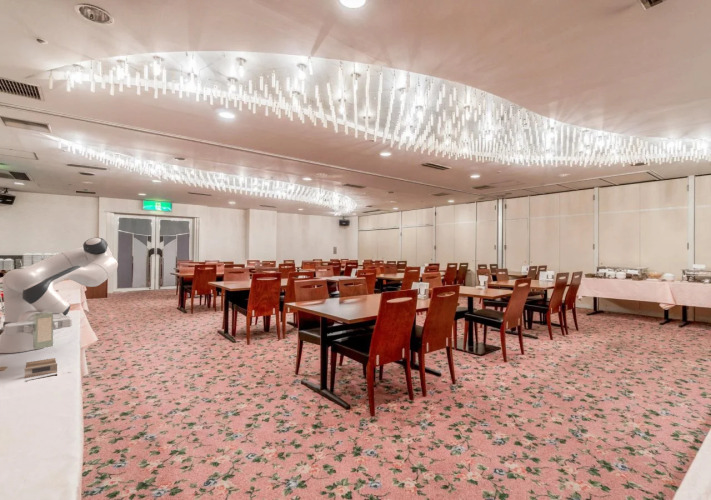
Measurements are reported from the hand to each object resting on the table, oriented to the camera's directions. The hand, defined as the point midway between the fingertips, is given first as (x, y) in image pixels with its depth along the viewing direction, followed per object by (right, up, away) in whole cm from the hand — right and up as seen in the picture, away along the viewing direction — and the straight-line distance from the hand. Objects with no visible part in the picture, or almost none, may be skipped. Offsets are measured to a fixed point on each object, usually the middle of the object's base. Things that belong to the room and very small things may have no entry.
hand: (43, 328), depth 134 cm
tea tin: (0, -7, 0) cm, 7 cm away
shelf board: (-3, -17, +3) cm, 18 cm away
